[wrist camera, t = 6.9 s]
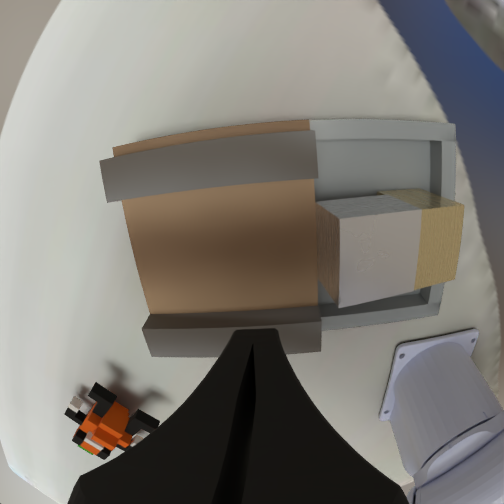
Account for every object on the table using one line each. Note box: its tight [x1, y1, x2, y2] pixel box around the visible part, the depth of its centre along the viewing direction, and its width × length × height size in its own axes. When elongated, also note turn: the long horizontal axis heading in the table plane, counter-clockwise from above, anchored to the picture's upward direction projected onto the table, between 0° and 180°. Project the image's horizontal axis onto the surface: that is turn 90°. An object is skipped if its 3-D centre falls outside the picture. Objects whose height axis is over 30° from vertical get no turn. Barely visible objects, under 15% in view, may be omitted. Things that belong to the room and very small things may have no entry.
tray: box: [309, 119, 456, 331], centre depth 17 cm, size 12×8×2 cm
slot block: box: [100, 120, 322, 357], centre depth 16 cm, size 12×10×4 cm
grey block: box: [315, 195, 422, 308], centre depth 14 cm, size 4×4×3 cm
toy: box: [65, 382, 160, 460], centre depth 23 cm, size 8×6×15 cm
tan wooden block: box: [377, 188, 464, 290], centre depth 15 cm, size 4×4×3 cm
